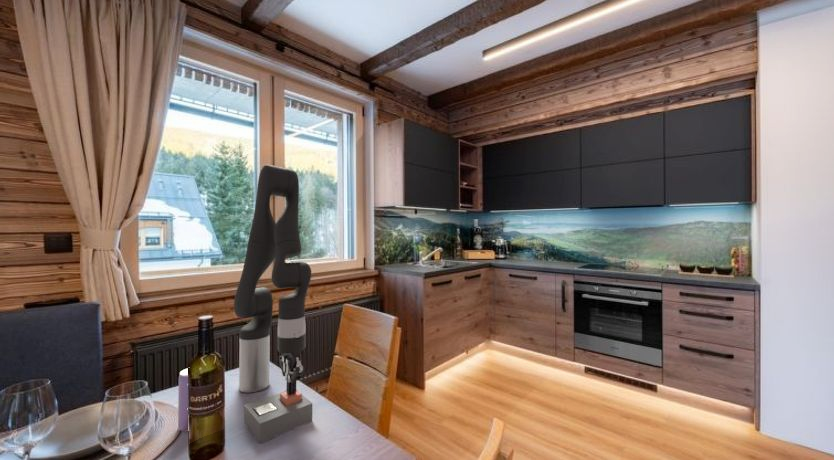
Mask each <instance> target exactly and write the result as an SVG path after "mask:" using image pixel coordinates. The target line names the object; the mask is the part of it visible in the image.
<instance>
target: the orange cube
mask: <svg viewBox="0 0 834 460" xmlns="http://www.w3.org/2000/svg"><path fill="white" fill-rule="evenodd" d="M285 391H286V392H284V391H282V392H283V393H281V392H279V393H280V401H281V402H282V403H283V404H284V405H285V406H288V405H291V404H293V403H296V402H299V401H301V400H302V395H303V393H302V392H300V391H299V390H298V389H297V388H296V393H295V394H292V395H289V394H287V390H285Z"/></svg>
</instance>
